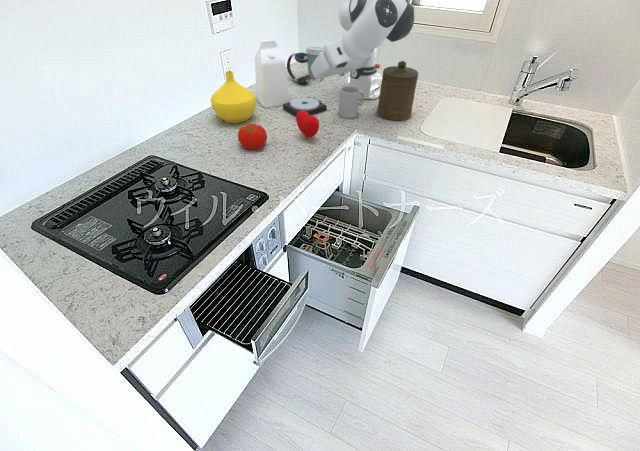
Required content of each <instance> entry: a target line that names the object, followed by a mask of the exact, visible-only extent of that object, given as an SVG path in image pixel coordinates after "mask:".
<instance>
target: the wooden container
mask: <svg viewBox="0 0 640 451" xmlns="http://www.w3.org/2000/svg"><path fill="white" fill-rule="evenodd" d="M418 80H419V72H418V70H416V69H415V68H412V67H408V66H407V62H406V61H404V60H400V61H399V62H398V63H397V65H393V66H387V67H385V68H383V71H382V83H381V89H380V96H379V97H378V104H377V114H378V116H379V117H381V118H383V119H386V120H390V121H404V120H407V119H409V118H411V114H412V109H413V105H414V100H415V93H416V88H417V84H418Z"/></svg>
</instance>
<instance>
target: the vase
mask: <svg viewBox="0 0 640 451" xmlns="http://www.w3.org/2000/svg"><path fill="white" fill-rule="evenodd" d="M210 106H211V108H212V110H213V111H214V113H215V114H216V116H217V117H218V118H219V119H220V120H222V121H224V122H226V123H228V124H242V123H245V122H246V121H248V120H249V119H250V118H251V117H252V115H253V114H254V112H255V110H256V106H257V97H256V95H255V94H254V92H253V91H251V90H250V89H248V88H246V86H244V85H242V84H240V83H239V82H237V81H236V80H235V77H234V71H233V70H227V71H225V82H224V83H223V84H222V85H221V86H220V87H219V88H218V89H217V90H216V91H215V92H213V94H211V96H210Z"/></svg>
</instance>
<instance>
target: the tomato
mask: <svg viewBox="0 0 640 451" xmlns="http://www.w3.org/2000/svg"><path fill="white" fill-rule="evenodd" d="M237 140H238V143H239V144H240V145H241V147H243V148H244V149H247V150H257V149H260V148H262V147H264V145H265V144H266V142H267V140H268V134H267V131H266V129H265V127H263V126H262V125H261V124H257V123H252V122H251V123H247V124H245V126H240V128H239V129H238V132H237Z"/></svg>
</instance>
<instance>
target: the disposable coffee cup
mask: <svg viewBox="0 0 640 451" xmlns="http://www.w3.org/2000/svg"><path fill="white" fill-rule="evenodd" d="M323 51H324V47H322V46H307V47H306V49H305V53H306V54H307V55H308V57H309V60H308V62H306V63H307V72H308V73H307V74H308V75H309V76H310V79H312V80H316V79H315V77H314V76H313V74H312V71H311V66H312V64H313V62H314V61H315V60H316V58H317V57H318V56H319V55H320V54H321V53H322V52H323Z"/></svg>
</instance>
